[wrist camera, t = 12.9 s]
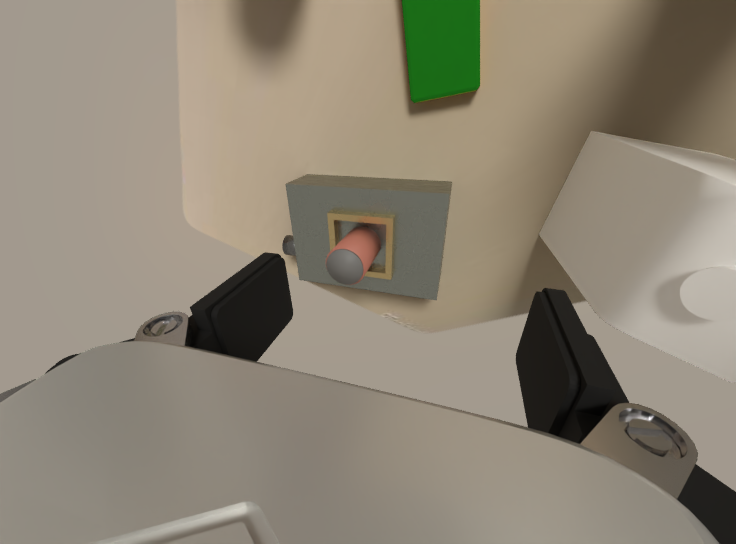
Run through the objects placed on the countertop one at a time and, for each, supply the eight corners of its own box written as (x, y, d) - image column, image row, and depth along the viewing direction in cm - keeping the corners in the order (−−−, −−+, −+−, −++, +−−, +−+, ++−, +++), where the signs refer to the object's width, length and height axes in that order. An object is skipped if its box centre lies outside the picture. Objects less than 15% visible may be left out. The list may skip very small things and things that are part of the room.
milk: (638, 258, 35) (908, 503, 14) (538, 234, 37) (636, 416, 16) (716, 153, 29) (1440, 300, 7) (591, 130, 31) (878, 193, 9)
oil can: (381, 228, 36) (365, 251, 31) (379, 262, 39) (364, 289, 33) (346, 224, 38) (323, 245, 32) (346, 256, 40) (325, 282, 34)
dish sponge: (414, 103, 35) (410, 103, 33) (400, -60, 29) (395, -72, 27) (479, 90, 32) (479, 89, 30) (479, -90, 26) (480, -106, 24)
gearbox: (452, 181, 37) (449, 196, 31) (440, 277, 44) (435, 305, 38) (288, 173, 43) (259, 184, 37) (300, 259, 50) (277, 281, 44)
